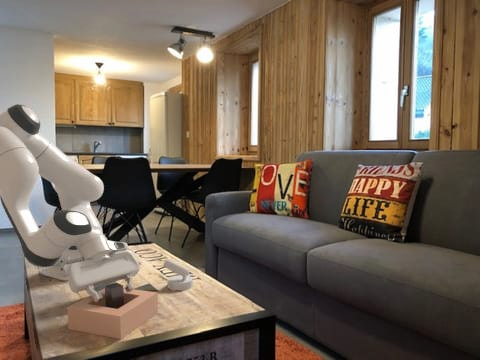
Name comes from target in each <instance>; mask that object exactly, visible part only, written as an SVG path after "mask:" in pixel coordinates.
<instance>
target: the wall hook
mask: <svg viewBox="0 0 480 360" xmlns="http://www.w3.org/2000/svg"><path fill="white" fill-rule="evenodd" d="M163 267H164V268H166V269H167V270H169V271H172V272H174V273H175V274H177V275H173V276H169V277H168V278H167V281H166V282H167V289H168V288H169V289H168V290H170V289H171V290H170V291H174V290H182V291H186V290H187V291H188V290H190V289H192V287H193V285H194V283H193V277H192V276H191V275H190V270H189V268H187V267H185V266H183V265H182V264H179V263H178V262H175V261H174V260H172V259H170V258H167V259H166V260H165V262H164V263H163Z"/></svg>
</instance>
